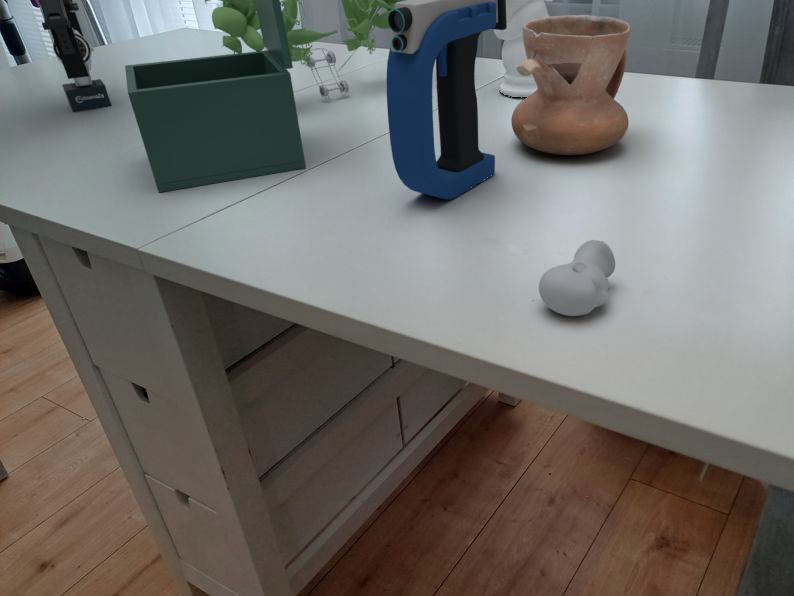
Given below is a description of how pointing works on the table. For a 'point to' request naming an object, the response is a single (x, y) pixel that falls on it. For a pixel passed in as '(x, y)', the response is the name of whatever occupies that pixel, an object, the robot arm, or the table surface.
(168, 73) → the dark green hollow box
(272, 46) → the lid
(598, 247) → the smooth white sculpture
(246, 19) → the plant cuttings
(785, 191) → the table surface
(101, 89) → the watch
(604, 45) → the ceramic jug
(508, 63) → the cherub figurine
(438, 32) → the handheld scanner
